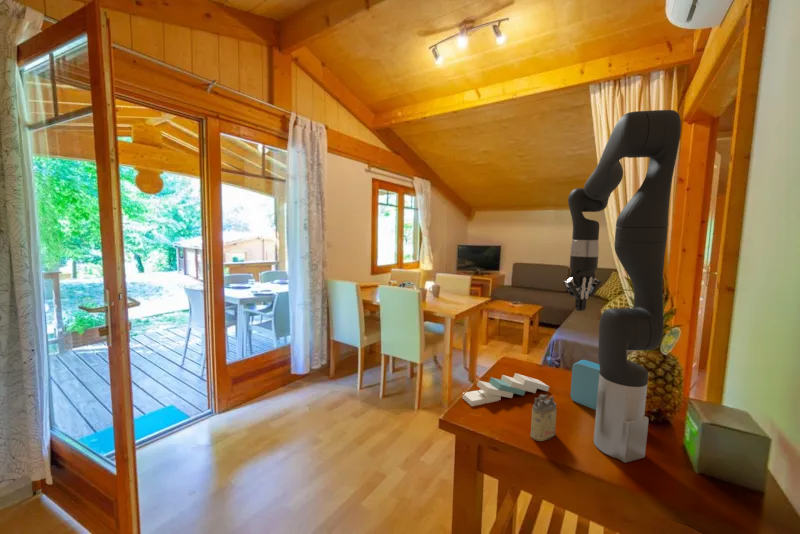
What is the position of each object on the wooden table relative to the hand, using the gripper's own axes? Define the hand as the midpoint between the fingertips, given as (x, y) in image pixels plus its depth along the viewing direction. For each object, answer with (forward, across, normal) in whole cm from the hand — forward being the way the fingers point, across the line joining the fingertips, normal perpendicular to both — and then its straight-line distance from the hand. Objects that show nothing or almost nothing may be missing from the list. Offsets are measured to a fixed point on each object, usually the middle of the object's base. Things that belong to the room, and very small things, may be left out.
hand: (580, 310), depth 105 cm
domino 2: (+25, -23, +3) cm, 34 cm away
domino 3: (+25, -18, +4) cm, 31 cm away
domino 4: (+25, -14, +4) cm, 29 cm away
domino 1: (+25, -27, +3) cm, 37 cm away
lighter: (+26, -27, -17) cm, 41 cm away
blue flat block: (+26, -3, -10) cm, 28 cm away
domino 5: (+25, -9, +4) cm, 27 cm away
